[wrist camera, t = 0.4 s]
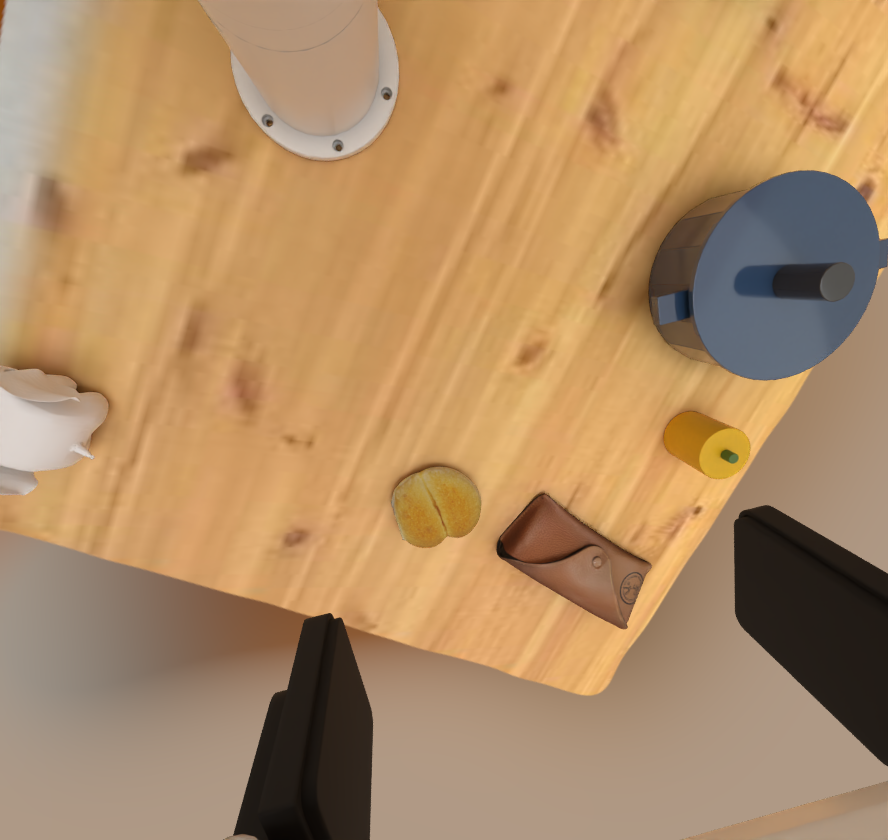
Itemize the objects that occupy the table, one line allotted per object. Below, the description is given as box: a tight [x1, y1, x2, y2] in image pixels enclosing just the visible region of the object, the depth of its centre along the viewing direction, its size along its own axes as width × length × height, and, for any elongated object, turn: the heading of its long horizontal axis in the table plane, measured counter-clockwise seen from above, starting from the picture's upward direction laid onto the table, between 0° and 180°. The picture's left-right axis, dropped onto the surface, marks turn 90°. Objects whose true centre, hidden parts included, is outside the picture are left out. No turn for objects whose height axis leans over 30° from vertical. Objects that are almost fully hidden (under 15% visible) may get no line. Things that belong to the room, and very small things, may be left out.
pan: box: [649, 189, 888, 366], centre depth 42 cm, size 16×21×7 cm
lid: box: [689, 170, 880, 380], centre depth 37 cm, size 17×17×6 cm
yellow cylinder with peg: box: [664, 411, 750, 479], centre depth 47 cm, size 5×5×7 cm
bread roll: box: [391, 467, 481, 548], centre depth 47 cm, size 8×9×4 cm
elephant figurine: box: [0, 365, 109, 495], centre depth 37 cm, size 10×12×9 cm
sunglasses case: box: [497, 494, 652, 629], centre depth 51 cm, size 18×7×7 cm
